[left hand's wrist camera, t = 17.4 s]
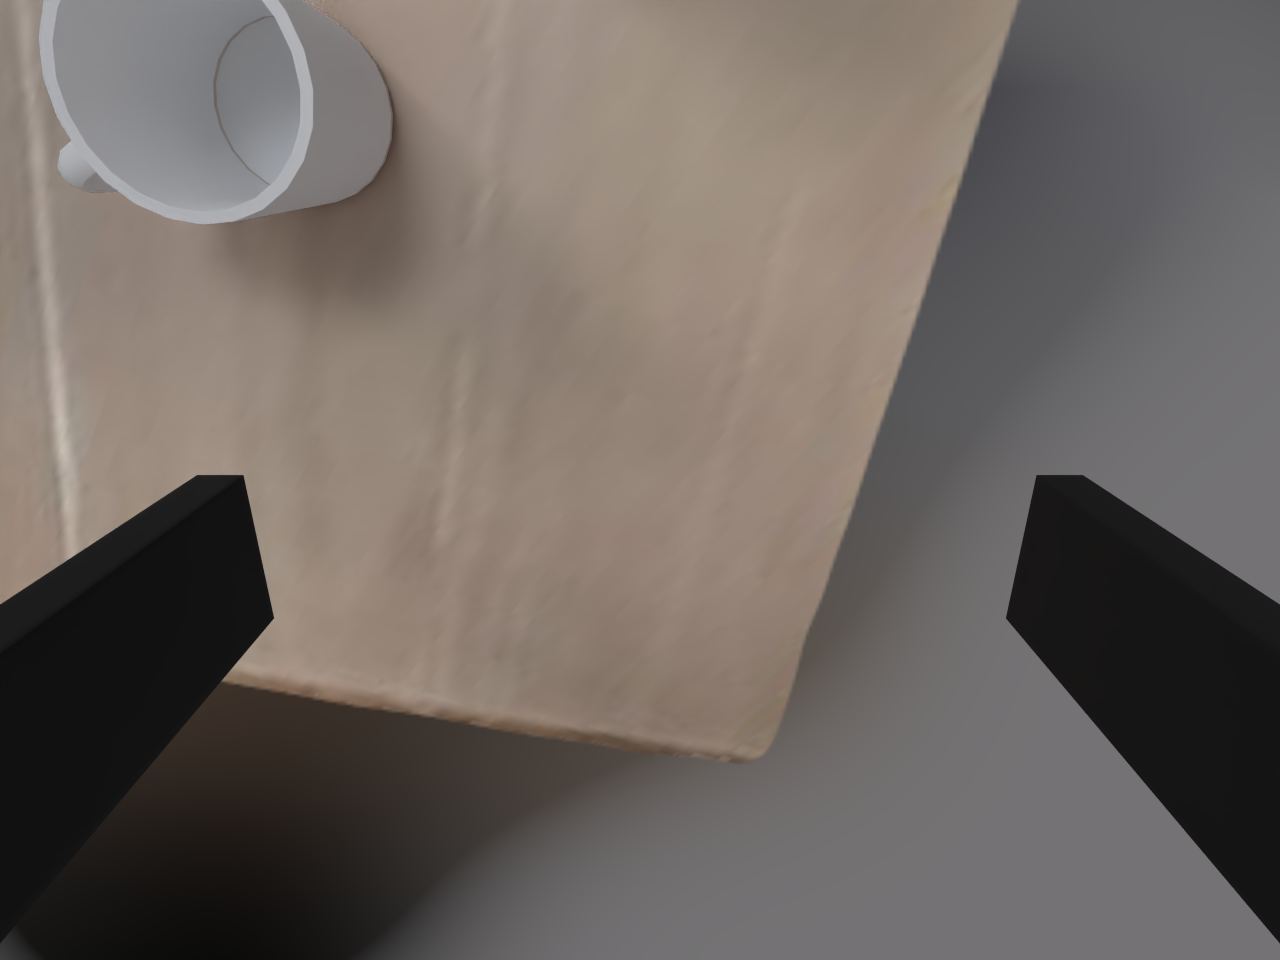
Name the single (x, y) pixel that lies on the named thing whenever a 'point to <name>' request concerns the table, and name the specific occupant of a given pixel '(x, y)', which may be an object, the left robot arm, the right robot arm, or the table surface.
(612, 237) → the table surface
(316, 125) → the mug
